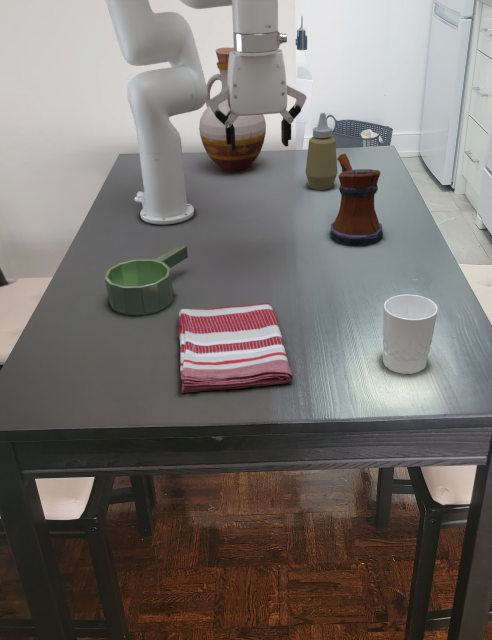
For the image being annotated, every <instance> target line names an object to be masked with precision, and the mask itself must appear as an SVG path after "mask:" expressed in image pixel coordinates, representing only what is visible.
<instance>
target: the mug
mask: <svg viewBox="0 0 492 640" xmlns="http://www.w3.org/2000/svg"><path fill="white" fill-rule="evenodd" d="M337 162H339V164H340V165H339V166H340V167H341V173H339V174H338V180H339V184H340V185H339V188H338V190H339V193H340V195H341V197H340V206H339V210H338V213H337V215H336V217H335V220H334V221H333V222H332V223H330V235H331V237H332V238H333V239H334V240H335V241H336V242H337V243H338V244H342V245H347V246H358V247H359V246H360V247H361V246H362V247H364V246H367V245H371V244H375V243H377V242H378V241H379V240H380V239H382V238H383V236H384V234H383V233H384V232H383V224H382V223H380V221H379V218H378V215H377V211H376V209H375V195H376V193H377V192H378V190H379V187H378V181H379V179H380V175H381V171H380V170H378V169H371V168H370V169H369V168H368V169H367V168H364V169H363V168H362V169H361V168H360V169H353V168H352V165H351V162H350V159H349V157H348V155H347V153H341V154H339V155H338V157H337Z"/></svg>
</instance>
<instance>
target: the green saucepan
mask: <svg viewBox="0 0 492 640" xmlns="http://www.w3.org/2000/svg"><path fill="white" fill-rule="evenodd" d="M188 257H189V256H188V247H187V245H183V244H179V245H178V246H176V247H174V248H172V249H171V250H168V251H167V252H166V253H164V254H162V255H161V256H159V257H157V258H155V259H151V258H148V259H147V258H143V259H141V258H140V259H138V258H137V259H136V258H135V259H131V260H127V261H123V262H119V263H117V264H115V265H113V266H112V267H110V268H109V269H107V271H106V273H105V276H104V281H105V287H106V293H107V299H108V303H109V304H110V307H111V309H112V310H113V311H114V312H116V313H118V314H122V315H127V316H145V315H151V314H154V313H158V312H160V311H162V310H164V309H166V308H168V307H169V306H170V305H171V303H172V302H173V298H174V296H173V295H174V289H173V279H172V271H171V269H172V268H173V267H175V266H176V265H178V264H180V263H182V262H183V261H185V260H186V259H188Z"/></svg>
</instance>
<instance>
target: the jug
mask: <svg viewBox="0 0 492 640" xmlns="http://www.w3.org/2000/svg"><path fill="white" fill-rule="evenodd" d="M232 51H234V47H218V48H216V49H215V54H216V57H217V61H218V62H216V66H217V69H218V71H219V73H215V74H213V75H211V77H210V78H209V79H208V80H207V82H206V87H207V98H206V102H205V106H206V108H205V110H203V112H202V115H201V116H200V119H199V127H198V130H199V137H200V139H201V142H202V146H203V148H204V150H205V152H206V155H208V157H209V159H210V160H211V161H212V162H213V163H214V165H216V167H217V168H218V169H219V170H220V171H222V172H223V173H230V174H231V173H232V174H234V173H242V172H246V171H248V170H249V169H250V168H251V166H252V165H253V164H254V163H255V161H256V160H257V158H258V157H259V155H260V154H261V151H262V149H263V145H264V144H265V139H266V134H267V123H266V119H265V116H264V114H263V115H248V116H238V117H237V119H236V120H235V121H234V123H233V126H234V128H235V146H236V149H235V150H231V148H230V145H227V143H226V129H225V125H224V124H223V123H222V122H220V121H219V120H218V119H217V118H216V116H215V115H214V113H213V111H212V109H211V108H210V106H209V104H208V101H209V100H210V99H211V89H212V87H213V85H214V83H215V82H216V81H220V82H221V89H220V92H219V93H218V94H220V93H221V92H223V91H224V90H226V89H227V88H228V87H227V80H228V60H229V53H230V52H232ZM218 107H219V109H220V111H221V112H222V113H223V114H225V115H226V114H227V113H228V112H229V110H230V108H229V106H228V99H227V100H225V101H223V102H222V103H220V104H219V105H218Z"/></svg>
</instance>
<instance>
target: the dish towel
mask: <svg viewBox="0 0 492 640" xmlns="http://www.w3.org/2000/svg"><path fill="white" fill-rule="evenodd" d="M178 337H179V339H178V340H179V346H180V347H179V348H180V353H179V355H180V360H179V361H180V368H179V369H180V380H181V393H182V394H186V393H195V392H202V391H203V392H205V391H219V390H233V389H244V388H254V387H255V388H256V387H260V386H261V387H265V386H274V385H281V384H282V385H284V384H288V383H291V381H292V380H293V379H294V376H293V372H292V370H291V367H290V364H289V360H288V356H287V352H286V350H285V344H284V339H283V337H282V333H281V329H280V326H279V321H278V318H277V315H276V313H275V312H274V310H273V306H272V305H271V303H269V302H263V303H252V304H244V305H230V306H221V307H220V306H219V307H211V308H182V309H180V311H179V312H178Z"/></svg>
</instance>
